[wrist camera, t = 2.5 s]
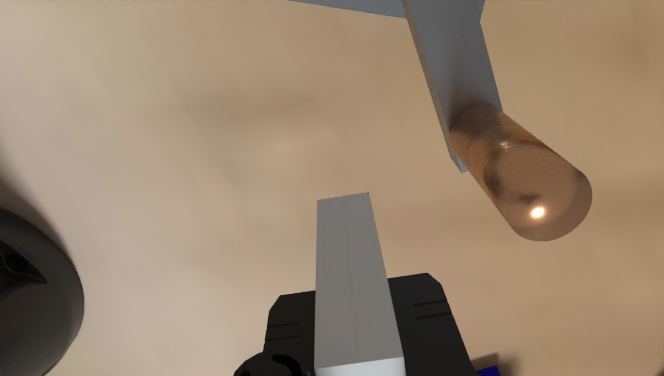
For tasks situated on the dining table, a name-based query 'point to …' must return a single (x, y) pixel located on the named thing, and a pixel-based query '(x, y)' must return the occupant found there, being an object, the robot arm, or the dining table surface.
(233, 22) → the dining table surface
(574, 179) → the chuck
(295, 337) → the robot arm
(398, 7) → the stand
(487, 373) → the mounting bracket
